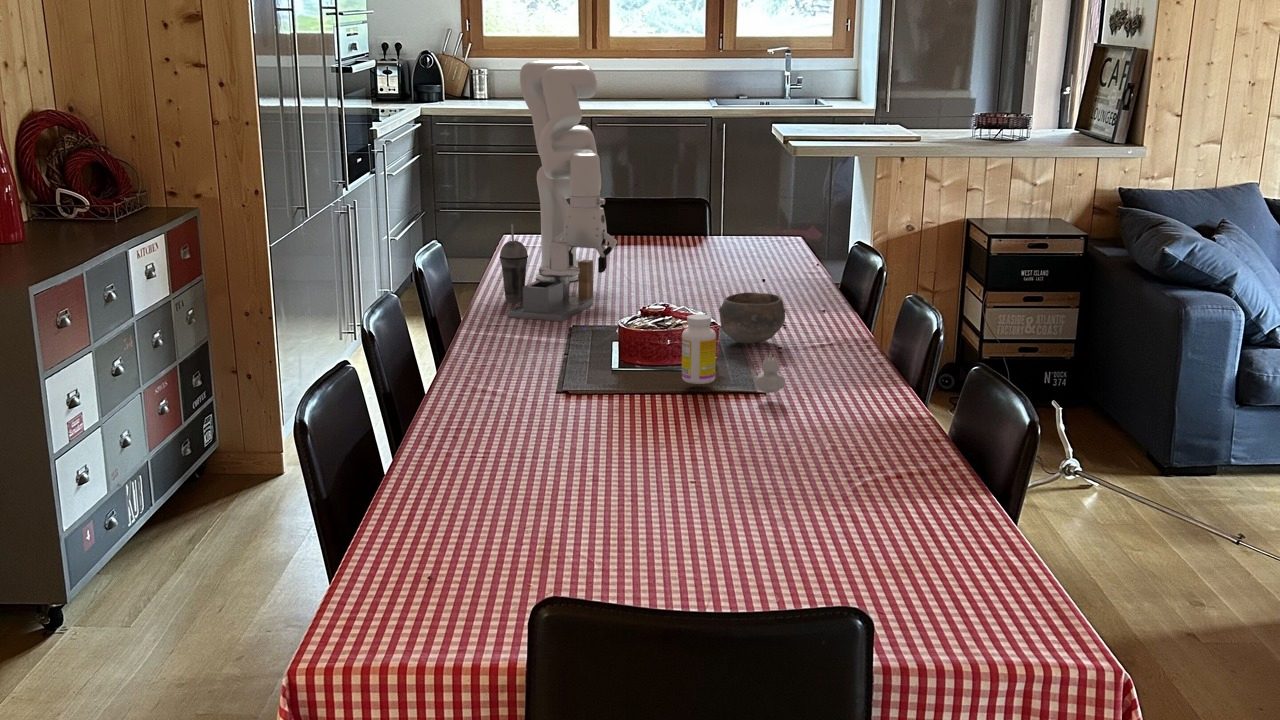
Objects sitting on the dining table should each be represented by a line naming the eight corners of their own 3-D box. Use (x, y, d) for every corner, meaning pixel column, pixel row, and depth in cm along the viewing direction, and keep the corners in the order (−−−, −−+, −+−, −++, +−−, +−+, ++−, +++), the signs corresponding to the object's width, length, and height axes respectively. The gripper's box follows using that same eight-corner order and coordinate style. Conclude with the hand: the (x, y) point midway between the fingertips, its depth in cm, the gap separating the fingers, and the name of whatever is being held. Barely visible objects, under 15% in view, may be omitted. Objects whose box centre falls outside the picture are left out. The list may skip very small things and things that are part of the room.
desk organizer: (542, 300, 311) (541, 238, 307) (593, 304, 306) (592, 241, 302) (508, 316, 293) (506, 251, 288) (562, 321, 288) (561, 254, 284)
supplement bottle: (719, 377, 242) (720, 314, 238) (710, 386, 236) (711, 321, 232) (687, 374, 244) (687, 311, 241) (677, 383, 238) (678, 319, 235)
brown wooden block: (584, 297, 314) (583, 259, 312) (593, 298, 313) (592, 260, 311) (578, 300, 311) (577, 262, 308) (587, 301, 310) (587, 262, 307)
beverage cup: (531, 298, 313) (530, 221, 307) (526, 304, 306) (524, 225, 300) (503, 298, 313) (501, 221, 308) (497, 304, 306) (495, 225, 301)
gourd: (780, 387, 235) (782, 347, 233) (787, 397, 229) (789, 356, 227) (753, 388, 235) (754, 348, 233) (759, 398, 228) (760, 356, 226)
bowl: (792, 337, 274) (793, 293, 271) (770, 353, 261) (771, 307, 258) (734, 331, 280) (735, 288, 277) (709, 346, 266) (710, 301, 264)
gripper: (622, 202, 306) (622, 270, 311) (559, 199, 312) (560, 266, 316) (612, 206, 299) (612, 275, 304) (547, 202, 305) (548, 271, 309)
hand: (585, 270), depth 310 cm, fingers open, 8 cm apart
